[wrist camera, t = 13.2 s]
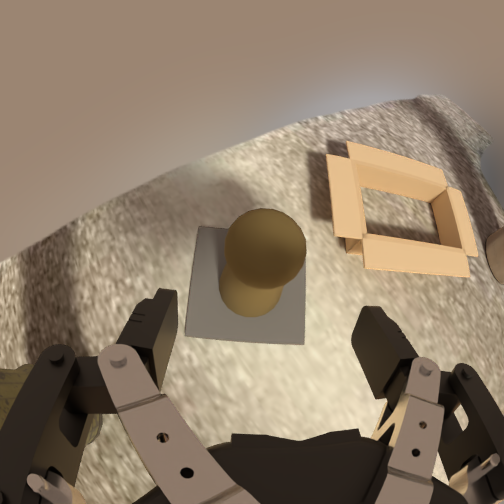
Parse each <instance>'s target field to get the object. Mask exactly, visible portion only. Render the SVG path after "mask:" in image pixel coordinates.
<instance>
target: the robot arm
mask: <svg viewBox="0 0 504 504" xmlns="http://www.w3.org/2000/svg"><path fill="white" fill-rule="evenodd" d="M486 253H487V259H488V263H489V265H490V268H491V270H492V273H493V275H494V276H495V278H496V279H497V281H498V282H499V283H501V284H503V285H504V226H503V227H502V228H500V229H499V230H497V231H496V232H494V233H493V234H491V235H490V236H489V237H488V238H487V241H486ZM177 329H178V301H177V291H176V290H170V289H162V288H159V289H158V290H157V292H156V294H155V296H154V298H153V299H147V298H145V299H144V300H142V301H141V302H140V303H138V304H137V305H136V307H135V309H134V311H133V312H132V314H131V316H130V318H129V321H127V323H126V325H125V327H124V329H123V331H122V333H121V335H120V336H119V338H118V340H117V342H116V344H114V345H110V346H108V347H106V348H104V349H103V350H102V351H101V352H100V353H99V355H98V356H94V357H76V356H75V353H74V351H73V350H72V349H71V348H70V347H68V346H66V345H62V344H58V345H53V346H50V347H48V348H46V349H45V350H44V351H43V352H42V353H41V355H40V357H39V358H38V360H37V362H36V363H35V365H34V367H33V368H32V370H31V372H30V373H29V375H28V377H27V379H26V380H25V382H24V384H23V386H22V388H21V389H20V391H19V393H18V395H17V397H16V399H15V401H14V403H13V405H12V407H11V409H10V411H9V413H8V415H7V417H6V419H5V421H4V423H3V426H2V428H1V430H0V504H86V502H85V499H84V497H83V496H82V494H81V493H80V492H79V491H78V490H77V489H76V488H74V487H75V483H76V478H77V474H78V470H79V466H80V462H81V458H82V455H83V451H84V447H85V444H86V440H87V437H88V434H89V430H90V427H91V424H92V421H93V418H94V415H95V414H118V416H119V419H120V421H121V423H122V425H123V427H124V429H125V431H126V433H127V435H128V437H129V439H130V441H131V443H132V445H133V447H134V448H135V450H136V452H137V454H138V456H139V458H140V459H141V461H142V463H143V465H144V466H145V468H146V470H147V471H148V473H149V475H150V476H151V478H152V479H153V481H154V482H155V484H156V487H155V488H153V489H152V490H151V491H149V492H148V493H147V494H145V495H144V496H142V497H141V498H140V499H138V500H137V501H135V502H134V503H132V504H498V503H500V502H501V501H503V500H504V416H503V414H502V413H501V411H500V409H499V407H498V406H497V404H496V402H495V401H494V399H493V397H492V396H491V394H490V392H489V391H488V389H487V388H486V386H485V385H484V383H483V381H482V380H481V378H480V377H479V375H478V374H477V372H476V371H475V370H474V369H473V368H472V367H471V366H469V365H467V364H464V363H459V364H457V365H456V366H455V367H454V369H453V371H452V372H446V371H440V369H439V367H438V365H437V364H436V363H435V362H433V361H432V360H430V359H428V358H425V357H419V356H418V354H417V353H416V351H415V350H414V348H413V347H412V345H411V344H410V342H409V341H408V339H406V336H405V335H404V333H402V330H401V329H400V328H399V326H398V325H397V323H395V322H394V321H393V320H392V319H390V318H389V317H388V316H387V315H386V314H385V312H384V311H383V309H382V308H381V307H380V306H364V307H363V308H362V310H361V312H360V315H359V318H358V320H357V323H356V325H355V328H354V330H353V333H352V338H351V343H352V347H353V349H354V351H355V353H356V356H357V358H358V360H359V362H360V365H361V367H362V369H363V371H364V374H365V376H366V378H367V381H368V383H369V385H370V388H371V390H372V392H373V395H374V397H375V399H383V398H386V399H387V402H386V403H385V405H384V407H383V409H382V412H381V415H380V417H379V420H378V422H377V425H376V427H375V430H374V432H373V434H372V436H371V438H366V437H361V436H360V432H359V429H351V430H343V431H334V432H329V433H326V434H323V435H319V436H316V437H313V438H310V439H306V440H303V441H296V440H290V439H284V438H279V437H274V436H269V435H254V434H232V435H231V442H226V443H221V444H217V445H214V446H211V447H208V448H205V447H204V446H203V445H202V443H201V442H200V441H199V439H198V438H197V437H196V435H195V434H194V433H193V431H192V430H191V429H190V427H189V426H188V425H187V423H186V422H185V420H184V419H183V418H182V416H181V415H180V413H179V412H178V410H177V409H176V407H175V406H174V404H173V403H172V401H171V400H170V399H169V397H168V396H167V395H166V394H161V393H160V391H161V388H162V384H163V380H164V377H165V373H166V369H167V366H168V362H169V359H170V355H171V352H172V348H173V345H174V341H175V338H176V334H177ZM460 404H461V405H462V407H463V409H464V410H465V412H466V414H467V416H468V420H469V422H468V426H467V428H466V429H465V430H464V431H462V429H461V427H460V424H459V422H458V420H457V418H456V416H455V414H454V411H455V410H456V409H457V408H458V407H459V405H460ZM437 451H438V453H439V455H440V458H441V461H442V464H443V466H444V469H445V472H446V475H447V478H448V481H449V486H448V485H446V484H444V483H443V482H441V481H440V480H438V479H436V478H435V477H433V476H432V473H433V469H434V465H435V461H436V456H437Z"/></svg>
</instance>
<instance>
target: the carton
mask: <svg viewBox="0 0 504 504" xmlns="http://www.w3.org/2000/svg"><path fill="white" fill-rule="evenodd" d="M346 146H347V151H348V156H349V158H345V157H340V156H335V155H330V154H326V162H327V171H328V179H329V188H330V198H331V209H332V221H333V234H334V236H339V237H345V242H346V253H348V254H358V255H363V265H364V268H365V269H376V270H387V271H399V272H410V273H422V274H434V275H445V276H457V277H470V272H469V266H468V261H467V256H466V255H469V256H475V257H478V251H477V247H476V242H475V238H474V234H473V230H472V227H471V223H470V219H469V216H468V212H467V209H466V206H465V203H464V200H463V197H462V194H461V191H459V190H457V189H454V188H451V187H448V185H447V182H446V180H445V177H444V174H443V171H442V170H441V169H438V168H436V167H433V166H430V165H427V164H425V163H422V162H419V161H416V160H413V159H410V158H407V157H403V156H400V155H397V154H394V153H390V152H387V151H383V150H380V149H376V148H373V147H369V146H365V145H361V144H357V143H353V142H349V141H346ZM360 186H361V187H366V188H371V189H375V190H380V191H384V192H389V193H393V194H397V195H402V196H406V197H410V198H414V199H417V200H421V201H425V202H429V203H431V205H432V209H433V213H434V216H435V221H436V225H437V229H438V234H439V238H440V243H441V245H437V244H432V243H426V242H420V241H413V240H407V239H401V238H395V237H388V236H381V235H375V234H368V233H367V229H366V222H365V214H364V208H363V201H362V195H361V189H360Z"/></svg>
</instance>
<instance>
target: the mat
mask: <svg viewBox="0 0 504 504" xmlns="http://www.w3.org/2000/svg"><path fill="white" fill-rule="evenodd" d="M228 230H229V229H222V228H212V227H202V226H199V231H198V237H197V244H196V250H195V257H194V264H193V271H192V279H191V287H190V294H189V303H188V311H187V320H186V330H185V336H188V337H196V338H205V339H215V340H226V341H237V342H251V343H267V344H290V345H304V338H305V288H306V262H305V261H304V264H303V267H302V268H301V270H300V271H299V273H298V274H297V276H296V277H295V278H294V279H293V280H291V281H290V282H288V283H287V284H286V285H284V287H283V290H282V293H281V297H280V300H279V302H278V303H277V305H276V306H275V307H274V309H272V310H271V311H270V312H268V313H267V314H265V315H262V316H259V317H244V316H241V315H238V314H235V313H234V312H233V311H231V310H230V309H229V308H227V306H226V305H225V303H224V302H223V301H222V299H221V295H220V292H219V280H220V277H221V274H222V272H223V269H224V267H225V265H226V263H227V262H226V259H225V255H224V247H225V238H226V235H227V233H228Z"/></svg>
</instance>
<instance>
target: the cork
mask: <svg viewBox="0 0 504 504" xmlns="http://www.w3.org/2000/svg"><path fill="white" fill-rule="evenodd" d="M224 255H225V259H226V262H227V263H226V265H225V267H224V269H223V272H222V274H221V277H220V280H219V292H220V295H221V299H222V301H223V302H224V303H225V305H226V306H227V308H229V309H230V310H231V311H233V312H234V313H235V314H238V315H241V316H244V317H259V316H262V315H265V314H267V313H268V312H270V311H271V310H272V309H274V307H275V306H276V305H277V303H278V302H279V300H280V297H281V293H282V290H283V287H284V285H286V284H287V283H288V282H290V281H291V280H293V279H294V278H295V277H296V276H297V274H298V273H299V271H300V270H301V268H302V267H303V264H304V261H305V257H306V239H305V237H304V235H303V232H302V230H301V228H300V227H299V226H298V225H297V223H296V222H295V221H294V220H293V219H292V218H291V217H289V216H288V215H286V214H285V213H283V212H280V211H277V210H274V209H264V208H260V209H255V210H251V211H248V212H246V213H245V214H243V215H241V216H239V217H238V218H237V220H236V221H235V222H234V223H233V224H232V225H231V227H230V228H229V230H228V233H227V235H226V238H225V247H224Z"/></svg>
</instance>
